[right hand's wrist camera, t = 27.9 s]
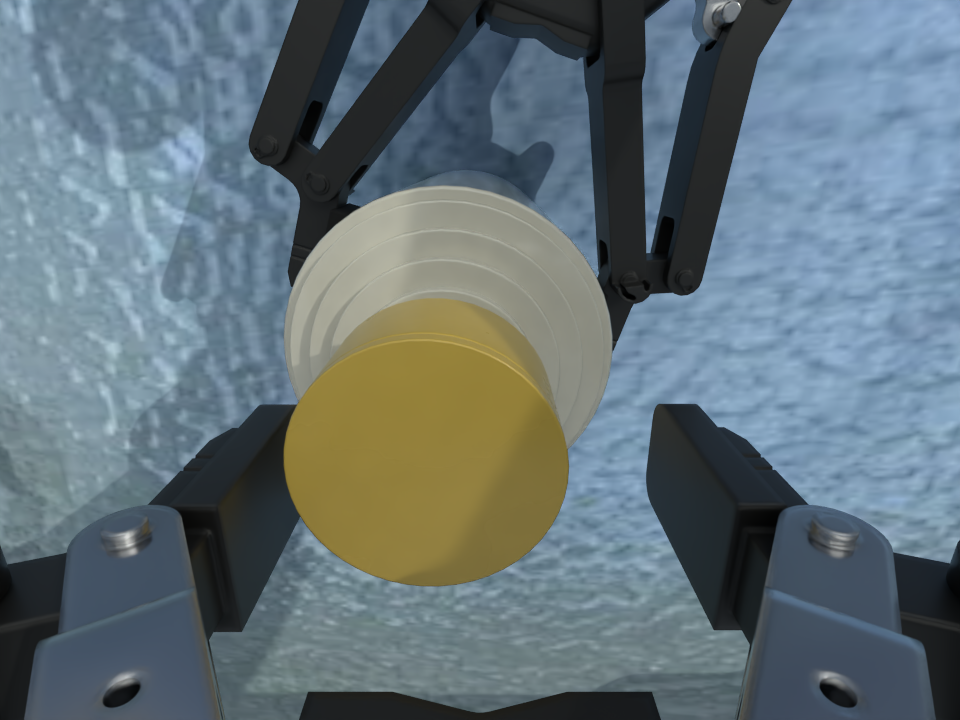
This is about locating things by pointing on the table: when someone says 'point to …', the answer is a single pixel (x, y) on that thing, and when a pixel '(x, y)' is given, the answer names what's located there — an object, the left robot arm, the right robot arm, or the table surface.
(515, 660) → the table surface
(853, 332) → the table surface
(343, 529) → the cap
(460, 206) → the bottle
